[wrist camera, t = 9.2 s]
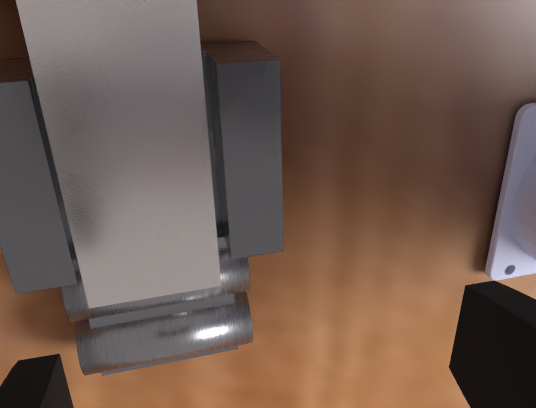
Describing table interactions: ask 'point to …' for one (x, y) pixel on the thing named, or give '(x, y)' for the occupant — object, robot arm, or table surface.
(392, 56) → the table surface
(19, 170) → the chain end
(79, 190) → the pale grey rectangular prism
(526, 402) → the robot arm
